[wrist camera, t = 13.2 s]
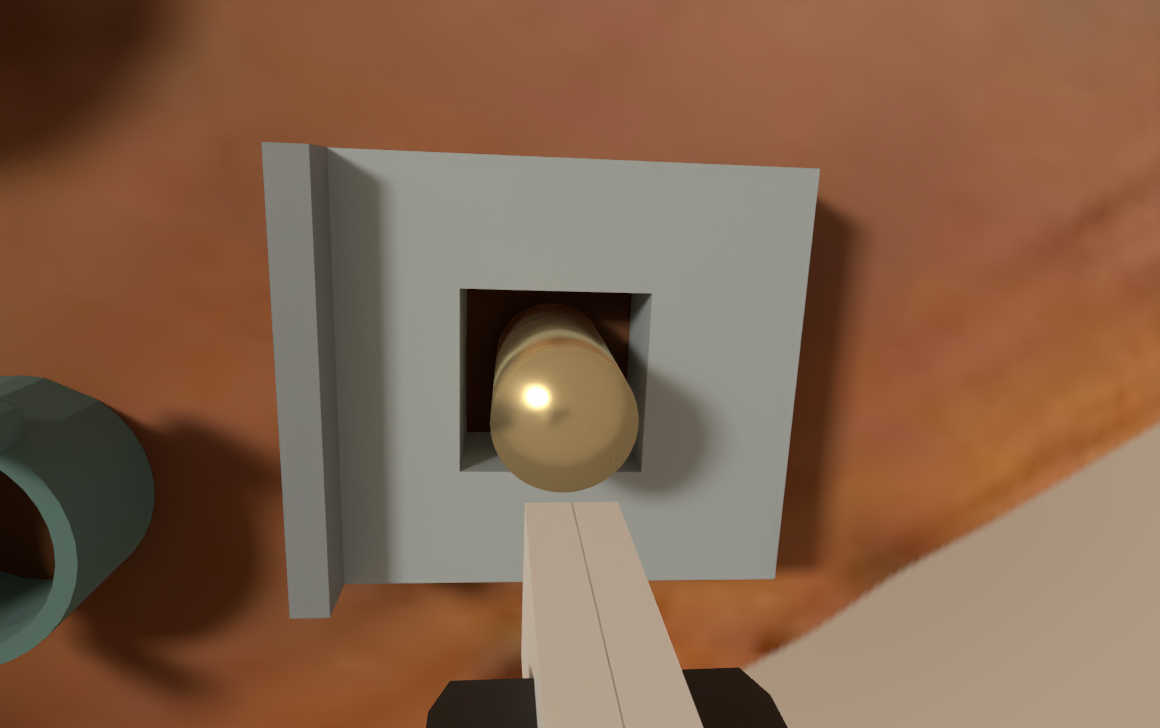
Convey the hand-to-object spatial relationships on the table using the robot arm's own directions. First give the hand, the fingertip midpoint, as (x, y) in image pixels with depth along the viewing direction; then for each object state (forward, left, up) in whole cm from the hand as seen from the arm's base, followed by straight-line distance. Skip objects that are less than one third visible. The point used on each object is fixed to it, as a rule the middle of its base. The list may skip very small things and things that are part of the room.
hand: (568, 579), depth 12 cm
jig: (0, 0, -16) cm, 16 cm away
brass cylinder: (+1, 0, -16) cm, 16 cm away
